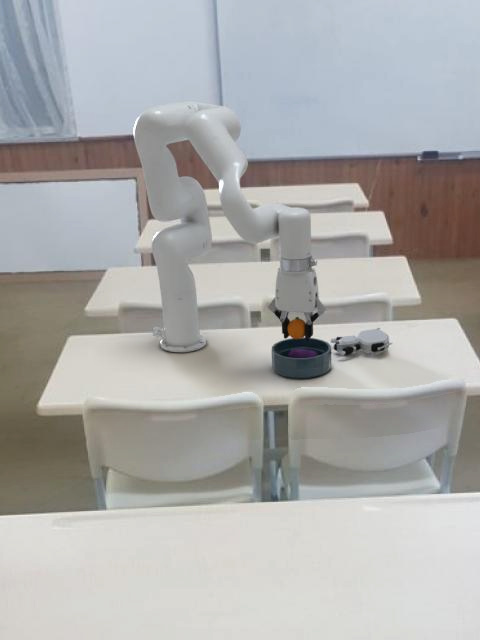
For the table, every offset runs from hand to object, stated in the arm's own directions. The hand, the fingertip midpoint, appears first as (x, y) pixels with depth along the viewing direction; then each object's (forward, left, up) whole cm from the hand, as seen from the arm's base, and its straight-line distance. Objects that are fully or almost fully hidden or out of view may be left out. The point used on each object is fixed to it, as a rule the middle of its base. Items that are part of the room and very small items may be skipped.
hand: (297, 336), depth 211 cm
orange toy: (0, 0, 0) cm, 0 cm away
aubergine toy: (0, +5, -9) cm, 10 cm away
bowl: (0, +3, -10) cm, 10 cm away
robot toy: (+12, +18, -10) cm, 24 cm away
